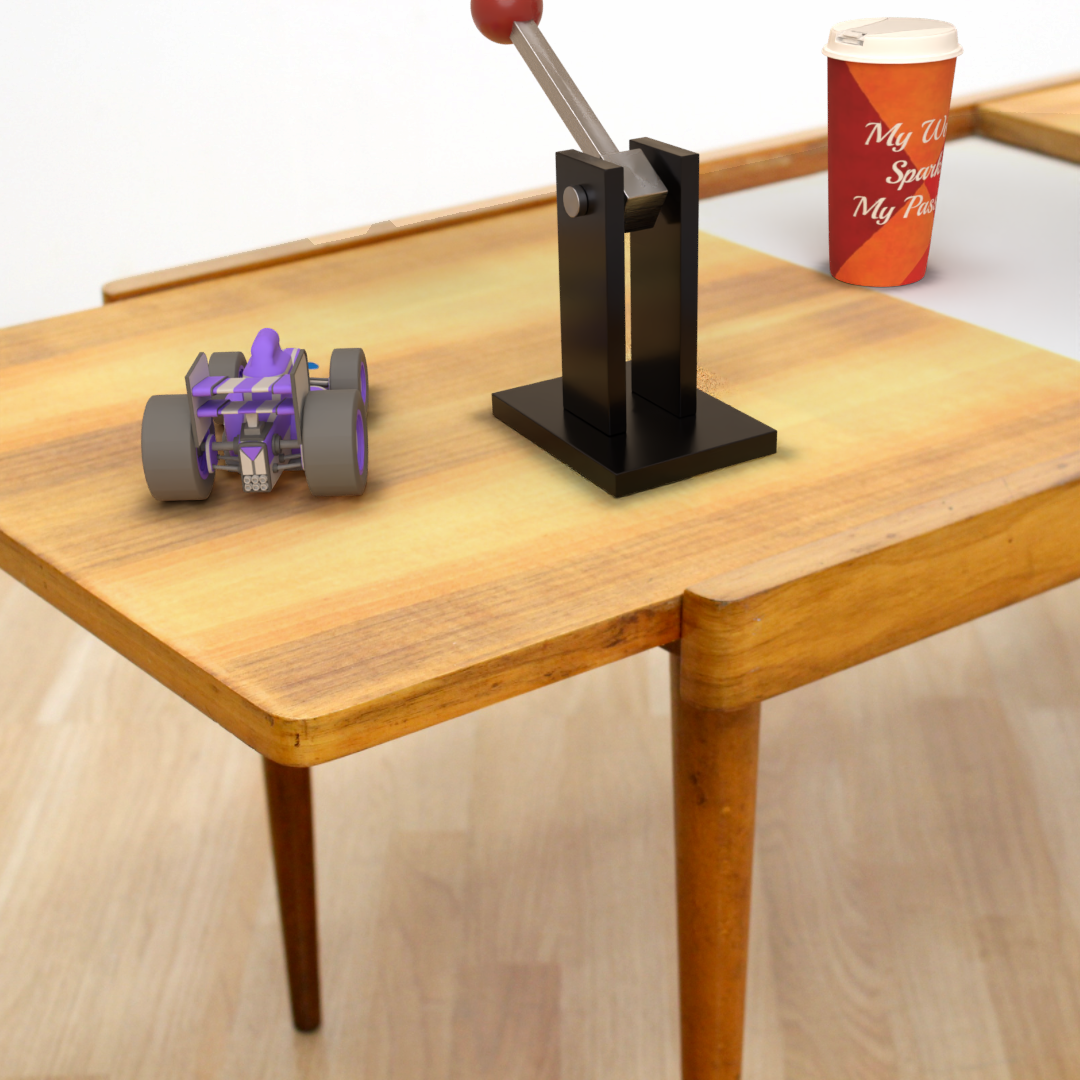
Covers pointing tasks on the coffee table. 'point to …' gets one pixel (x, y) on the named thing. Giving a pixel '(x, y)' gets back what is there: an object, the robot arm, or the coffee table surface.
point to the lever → (571, 103)
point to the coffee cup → (886, 144)
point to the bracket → (656, 339)
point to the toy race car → (260, 423)
